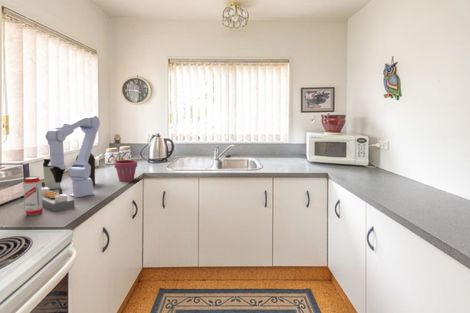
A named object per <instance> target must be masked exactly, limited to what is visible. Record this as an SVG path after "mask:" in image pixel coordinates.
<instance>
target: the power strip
mask: <svg viewBox="0 0 470 313" xmlns="http://www.w3.org/2000/svg"><path fill="white" fill-rule="evenodd" d="M50 192H54V193H57V194H59V192H55V191H53V190H50ZM60 195H61V194H60ZM42 206H43V208H46V209H48V210H49V211H52V212H54V213H55V212H59V211H63V210H68V209H72V208H76V207H75V206H76V205H75V199H73V198H71V197H68V196H67V201H63V202H56V201H55V198H50V197H47V195H45V196H44V194H42Z"/></svg>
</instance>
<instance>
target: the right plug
mask: <svg viewBox="0 0 470 313" xmlns="http://www.w3.org/2000/svg"><path fill="white" fill-rule="evenodd" d="M58 194H61V195H55V201H56V202H63V201H67V197H68V195H67V194H65V193H63V188H61V187H60V188H58Z"/></svg>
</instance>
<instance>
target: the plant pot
mask: <svg viewBox="0 0 470 313" xmlns="http://www.w3.org/2000/svg"><path fill="white" fill-rule="evenodd" d="M113 165H114V168H115V169H116V170H115V171H116V173H117V174H116V175H117V177H118V181H119V182H122V183H123V182H124V183H125V182H126V183H128V182H133V181H134V179H135V174H136V169H137V167H138V161H137V160H135V159H121V160H120V159H119V160H115V161H114V164H113Z"/></svg>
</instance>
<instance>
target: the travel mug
mask: <svg viewBox="0 0 470 313" xmlns="http://www.w3.org/2000/svg"><path fill="white" fill-rule="evenodd" d="M49 162H50V156H46V157H43V163H42V165H43V166H42V167H43V180H44V181H43V182H45V187H47V188H50V190H56V189H60V188H61V182H59V183H56V182H55V179H54V176H53V174H52V172H51V170H50V168H53V166H48V164H49ZM45 187H44V188H45Z"/></svg>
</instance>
